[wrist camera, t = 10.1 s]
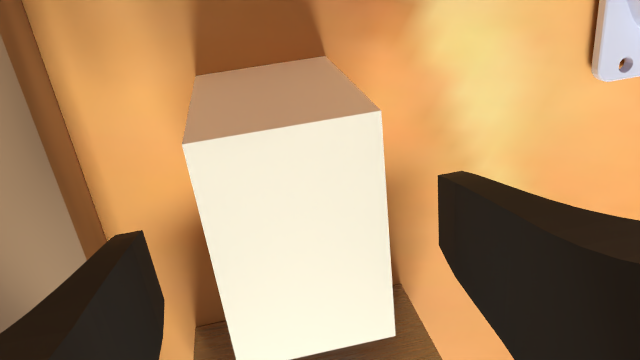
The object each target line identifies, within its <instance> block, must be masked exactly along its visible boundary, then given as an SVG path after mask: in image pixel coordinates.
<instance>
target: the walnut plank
mask: <svg viewBox="0 0 640 360" xmlns="http://www.w3.org/2000/svg"><path fill="white" fill-rule="evenodd" d="M106 242H107V241H106V238H105V236H104V233H103V230H102V227H101V224H100V221H99V219H98V216H97V213H96V210H95V207H94V204H93V202H92V199H91V196H90V193H89V190H88V188H87V185H86V182H85V179H84V176H83V173H82V171H81V168H80V165H79V162H78V159H77V157H76V154H75V151H74V148H73V145H72V142H71V140H70V137H69V134H68V131H67V128H66V126H65V123H64V120H63V117H62V114H61V111H60V109H59V106H58V103H57V100H56V97H55V95H54V92H53V89H52V86H51V83H50V80H49V78H48V75H47V72H46V69H45V66H44V64H43V61H42V58H41V55H40V52H39V49H38V47H37V44H36V41H35V38H34V35H33V33H32V30H31V27H30V24H29V21H28V18H27V16H26V13H25V10H24V7H23V4H22V1H21V0H0V333H1V332H3V331H4V330H6V329H7V328H8V327H10V326H11V325H12V324H14V323H15V322H16V321H18V320H19V319H20V318H22V317H23V316H24V315H25V314H27V313H28V312H29V311H30V310H32V309H33V308H34V307H35V306H36V305H37V304H39V303H40V302H41V301H42V300H43V299H45V298H46V297H47V296H48V295H49V294H50V293H52V292H53V291H54V290H55V289H56V288H57V287H59V286H60V285H61V284H62V283H63V282H64V281H65V280H67V279H68V278H69V277H70V276H71V275H72V274H73V273H74V272H75V271H76V270H77V269H78V268H79V267H81V266H82V265H83V264H84V263H85V262H86V261H87V260H88V259H89V258H90V257H91V256H92V255H93V254H94V253H95V252H97V251H98V250H99V249H100V248H101V247H102V246H103V245H104V244H105V243H106Z"/></svg>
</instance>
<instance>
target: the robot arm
mask: <svg viewBox="0 0 640 360" xmlns="http://www.w3.org/2000/svg"><path fill="white" fill-rule="evenodd" d="M623 58H624V60H625V62H624V64H623V66H622V67H621V68H620V69H619V64H620V62H621V60H622V59H623ZM592 74H593V76H594V77H595V78H597V79H599V80H602V81H606V82H610V81H616V80H621V79H627V78H633V77H639V76H640V0H599V9H598V17H597V26H596V34H595V43H594V51H593V60H592ZM438 218H439V246H440V248H441V250H442V252H443V254H444V256H445V258H446V260H447V262H448V264H449V266H450V268H451V270H452V272H453V273H454V275H455V277H456V278H457V280H458V281H459V283H460V284H461V285H462V287H463V288H464V290H465V291H466V292H467V294H468V295H469V297H470V298H471V299H472V301H473V302H474V304H475V305H476V306H477V308H478V309H479V310H480V312H481V313H482V314H483V316H484V317H485V319H486V320H487V321H488V323H489V324H490V325H491V327H492V328H493V329H494V331H495V332H496V334H497V335H498V336H499V338H500V339H501V340H502V342H503V343H504V345H505V346H506V348H507V349H508V351H509V352H510V354H511V355H512V357H513V358H514V360H640V221H639V220H633V219H627V218H622V217H617V216H612V215H607V214H603V213H598V212H594V211H589V210H585V209H581V208H577V207H573V206H570V205H567V204H563V203H560V202H556V201H553V200H549V199H546V198H543V197H540V196H537V195H534V194H531V193H528V192H525V191H522V190H519V189H516V188H513V187H510V186H508V185H505V184H502V183H499V182H496V181H493V180H491V179H488V178H485V177H482V176H479V175H475V174H472V173H468V172H464V171H459V172H453V173H448V174H442V175H438ZM163 325H164V297H163V294H162V291H161V288H160V285H159V281H158V278H157V275H156V272H155V269H154V266H153V262H152V259H151V256H150V253H149V250H148V246H147V243H146V240H145V237H144V234H143V231H142V230H141V231H135V232H130V233H125V234H119V235H115V236H114V237H113V238H111V239H110V240H109V241H108V242H106V243H105V244H104V245H103V246H102V247H101V248H100V249H99V250H98V251H97V252H95V253H94V254H93V255H92V256H91V257H90V258H89V259H88V260H87V261H86V262H85V263H84V264H83V265H82V266H81V267H79V268H78V269H77V270H76V271H75V272H74V273H73V274H72V275H71V276H70V277H69V278H68V279H67V280H65V281H64V282H63V283H62V284H61V285H60V286H59V287H57V288H56V289H55V290H54V291H53V292H52V293H50V294H49V295H48V296H47V297H46V298H45V299H43V300H42V301H41V302H40V303H39V304H37V305H36V306H35V307H34V308H33V309H32V310H30V311H29V312H28V313H27V314H25V315H24V316H23V317H22V318H20V319H19V320H18V321H16V322H15V323H14V324H12V325H11V326H10V327H8V328H7V329H6V330H4V331H3V332H1V333H0V360H159V355H160V350H161V345H162V339H163Z"/></svg>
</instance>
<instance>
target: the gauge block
mask: <svg viewBox="0 0 640 360" xmlns="http://www.w3.org/2000/svg"><path fill="white" fill-rule="evenodd" d="M182 147H183V151H184V155H185V158H186V162H187V166H188V170H189V174H190V178H191V182H192V186H193V190H194V194H195V198H196V202H197V206H198V210H199V214H200V218H201V222H202V226H203V230H204V234H205V238H206V242H207V246H208V250H209V254H210V258H211V262H212V266H213V270H214V274H215V278H216V282H217V286H218V290H219V294H220V298H221V302H222V306H223V310H224V314H225V318H226V321H227V325H228V329H229V333H230V337H231V341H232V345H233V349H234V353H235V357H236V360H290V359H295V358H299V357H304V356H308V355H313V354H317V353H322V352H326V351H331V350H335V349H339V348H344V347H348V346H353V345H357V344H362V343H366V342H371V341H375V340H380V339H384V338H389V337H393V336H396V335H395V319H394V303H393V288H392V272H391V257H390V241H389V226H388V210H387V195H386V179H385V163H384V148H383V132H382V117H381V110H380V109H379V108H378V107H377V106H376V105H375V104H374V103H373V102H372V101H371V100H370V99H369V98H368V97H367V96H366V95H365V94H364V93H363V92H362V91H361V90H360V89H359V88H358V87H357V86H356V85H355V84H354V83H353V82H352V81H351V80H350V79H349V78H347V77H346V76H345V75H344V74H343V73H342V72H341V71H340V70H339V69H338V68H337V67H336V66H335V65H334V64H333V63H332V62H331V61H330V60H329V59H328V58H327V57H326V56H321V57H315V58H308V59H302V60H296V61H289V62H283V63H276V64H270V65H263V66H257V67H250V68H244V69H237V70H231V71H224V72H218V73H211V74H205V75H198V76H195V81H194V86H193V91H192V96H191V101H190V106H189V111H188V116H187V121H186V126H185V131H184V137H183V142H182Z"/></svg>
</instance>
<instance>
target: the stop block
mask: <svg viewBox="0 0 640 360" xmlns="http://www.w3.org/2000/svg"><path fill="white" fill-rule="evenodd" d="M392 288H393V303H394V319H395V335H396V336H393V337H389V338H384V339H380V340H375V341H371V342H366V343H362V344H357V345H353V346H348V347H344V348H339V349H335V350H331V351H326V352H322V353H317V354H313V355H308V356H304V357H299V358H295V359H290V360H442V358H441V356H440V355H439V353H438V351H437V349H436V347H435V345H434V344H433V342H432V340H431V338H430V336H429V334H428V332H427V331H426V329H425V327H424V325H423V323H422V321H421V320H420V318H419V316H418V314H417V312H416V310H415V309H414V307H413V305H412V303H411V301H410V299H409V298H408V296H407V294H406V292H405V290H404V288H403V287H402V285H401V284H398V285H393V286H392ZM194 360H236V357H235V353H234V349H233V345H232V341H231V337H230V333H229V329H228V325H227V321H223V322H219V323H214V324H209V325H204V326H200V327H196V329H195V344H194Z"/></svg>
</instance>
